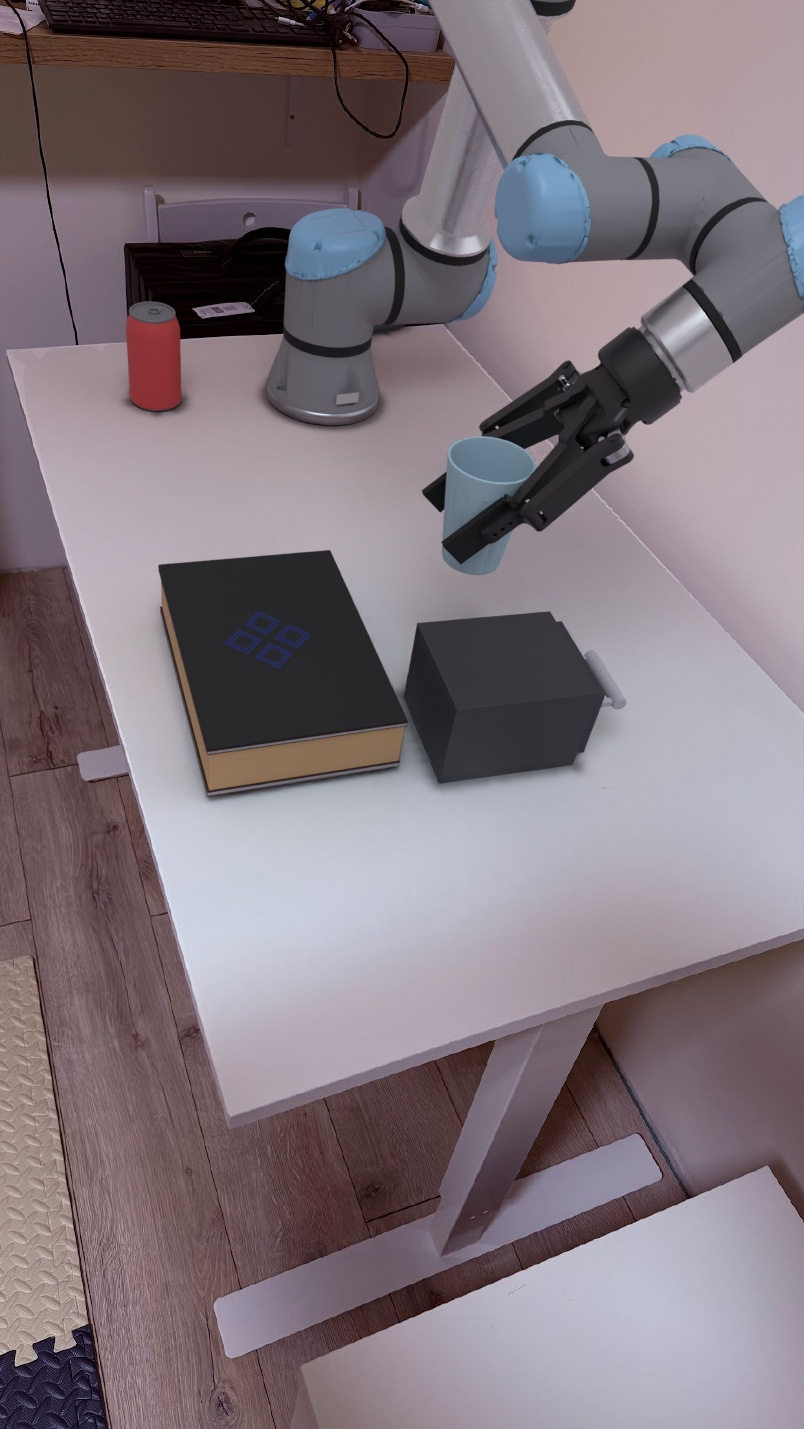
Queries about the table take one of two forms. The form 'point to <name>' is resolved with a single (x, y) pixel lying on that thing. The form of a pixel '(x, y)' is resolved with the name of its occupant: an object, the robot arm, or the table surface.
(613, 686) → the drawer
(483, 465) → the cup
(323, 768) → the book
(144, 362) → the beer can
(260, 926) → the table surface
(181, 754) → the table surface
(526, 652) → the cabinet
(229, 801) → the table surface
